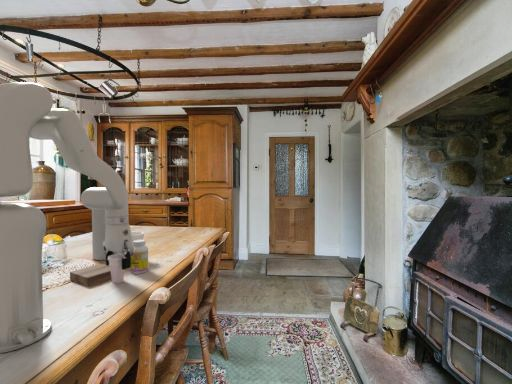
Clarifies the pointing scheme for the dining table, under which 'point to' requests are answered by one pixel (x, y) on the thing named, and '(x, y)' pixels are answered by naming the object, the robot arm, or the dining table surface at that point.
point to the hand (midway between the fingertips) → (118, 266)
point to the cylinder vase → (98, 234)
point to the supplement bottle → (139, 257)
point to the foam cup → (136, 236)
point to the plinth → (91, 274)
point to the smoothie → (116, 268)
